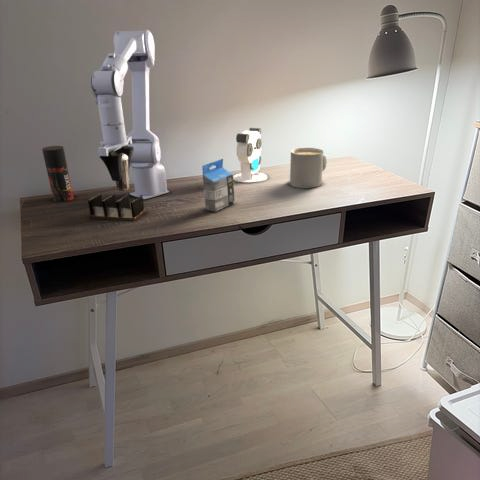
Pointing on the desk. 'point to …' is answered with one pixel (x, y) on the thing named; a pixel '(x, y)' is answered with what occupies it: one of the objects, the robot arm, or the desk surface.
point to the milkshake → (123, 174)
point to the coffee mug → (307, 167)
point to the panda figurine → (249, 156)
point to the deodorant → (58, 173)
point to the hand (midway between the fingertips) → (120, 178)
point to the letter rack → (116, 208)
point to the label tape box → (217, 186)
